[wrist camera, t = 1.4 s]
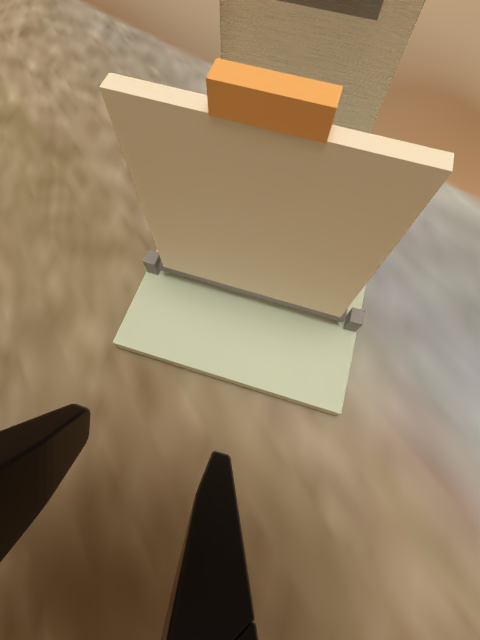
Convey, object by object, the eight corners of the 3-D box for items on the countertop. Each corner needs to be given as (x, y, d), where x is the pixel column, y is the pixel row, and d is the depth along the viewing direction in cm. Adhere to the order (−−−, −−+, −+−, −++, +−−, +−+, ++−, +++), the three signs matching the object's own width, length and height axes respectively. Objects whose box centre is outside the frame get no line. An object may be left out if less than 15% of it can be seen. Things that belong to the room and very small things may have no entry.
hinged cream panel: (341, 324, 22) (488, 143, 10) (160, 272, 24) (75, 48, 11) (343, 311, 23) (490, 118, 10) (166, 260, 24) (89, 29, 11)
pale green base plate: (336, 415, 22) (348, 411, 19) (117, 347, 23) (105, 335, 21) (376, 210, 28) (389, 188, 26) (202, 165, 29) (199, 141, 27)
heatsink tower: (322, 251, 25) (438, -15, 11) (218, 223, 26) (202, -60, 12) (334, 203, 27) (448, -80, 13) (236, 178, 27) (242, -116, 13)
